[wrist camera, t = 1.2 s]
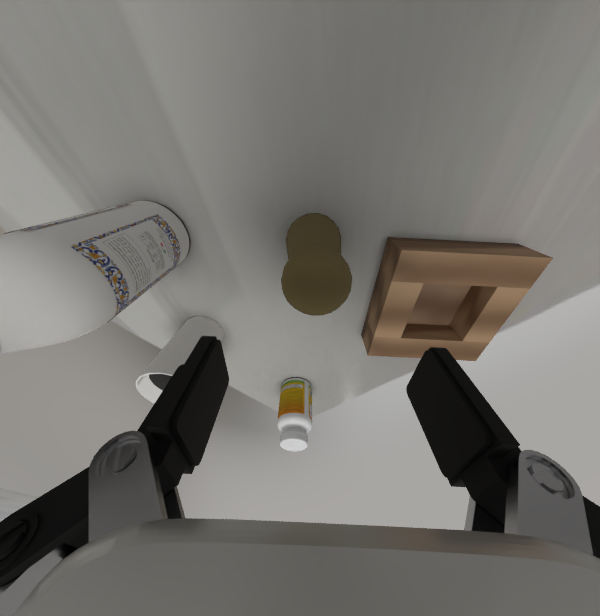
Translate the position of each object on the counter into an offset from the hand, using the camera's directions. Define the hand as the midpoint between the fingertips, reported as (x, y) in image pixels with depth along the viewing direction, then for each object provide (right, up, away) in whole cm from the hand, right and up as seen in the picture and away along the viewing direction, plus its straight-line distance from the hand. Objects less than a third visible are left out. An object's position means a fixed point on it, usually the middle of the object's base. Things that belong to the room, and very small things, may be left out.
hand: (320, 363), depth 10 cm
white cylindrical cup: (-15, -1, +22) cm, 26 cm away
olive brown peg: (+1, +10, +14) cm, 17 cm away
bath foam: (-16, +11, +14) cm, 24 cm away
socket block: (+15, +4, +17) cm, 23 cm away
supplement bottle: (-2, -11, +29) cm, 31 cm away
